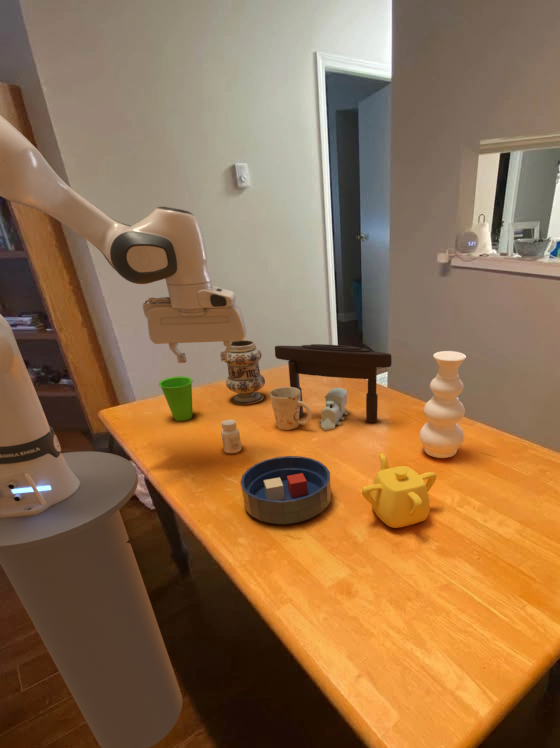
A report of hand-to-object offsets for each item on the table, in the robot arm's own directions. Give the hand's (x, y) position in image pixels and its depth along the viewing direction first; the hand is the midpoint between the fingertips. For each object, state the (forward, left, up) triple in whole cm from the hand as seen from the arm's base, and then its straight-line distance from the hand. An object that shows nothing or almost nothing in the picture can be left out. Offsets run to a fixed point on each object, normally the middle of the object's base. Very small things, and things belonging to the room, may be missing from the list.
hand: (204, 361), depth 104 cm
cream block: (+9, -26, -23) cm, 35 cm away
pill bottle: (+3, +1, -24) cm, 24 cm away
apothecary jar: (+12, +35, -24) cm, 44 cm away
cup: (-8, +27, -24) cm, 37 cm away
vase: (+52, -19, -24) cm, 60 cm away
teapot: (+31, -39, -24) cm, 55 cm away
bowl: (+11, -27, -24) cm, 38 cm away
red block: (+14, -26, -23) cm, 37 cm away
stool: (+33, +10, -24) cm, 42 cm away
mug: (+21, +9, -24) cm, 33 cm away
